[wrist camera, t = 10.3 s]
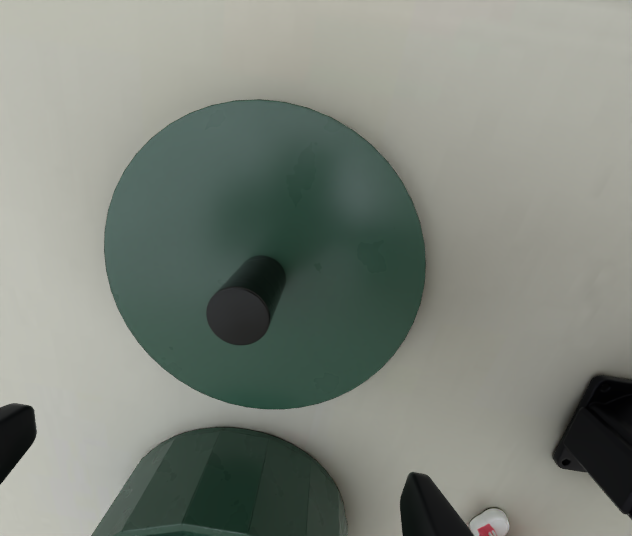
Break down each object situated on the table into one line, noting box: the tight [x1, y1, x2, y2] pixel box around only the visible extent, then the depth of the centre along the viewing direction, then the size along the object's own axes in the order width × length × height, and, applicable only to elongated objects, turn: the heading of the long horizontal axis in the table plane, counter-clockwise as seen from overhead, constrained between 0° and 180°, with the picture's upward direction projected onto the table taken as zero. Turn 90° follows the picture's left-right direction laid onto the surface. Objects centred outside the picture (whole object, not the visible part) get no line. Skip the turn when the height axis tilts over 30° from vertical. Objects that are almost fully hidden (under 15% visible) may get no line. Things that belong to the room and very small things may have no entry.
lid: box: [104, 99, 426, 409], centre depth 14 cm, size 16×16×6 cm
